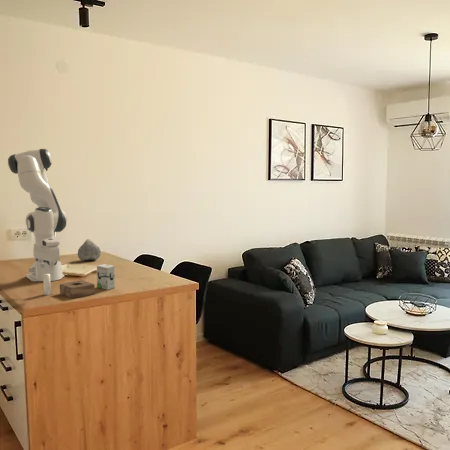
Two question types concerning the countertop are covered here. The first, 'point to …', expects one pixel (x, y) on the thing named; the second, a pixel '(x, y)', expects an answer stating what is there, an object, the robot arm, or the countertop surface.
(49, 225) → the robot arm
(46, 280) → the pin
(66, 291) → the bore block
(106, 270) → the ink box
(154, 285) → the countertop surface
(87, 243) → the decorative stone
